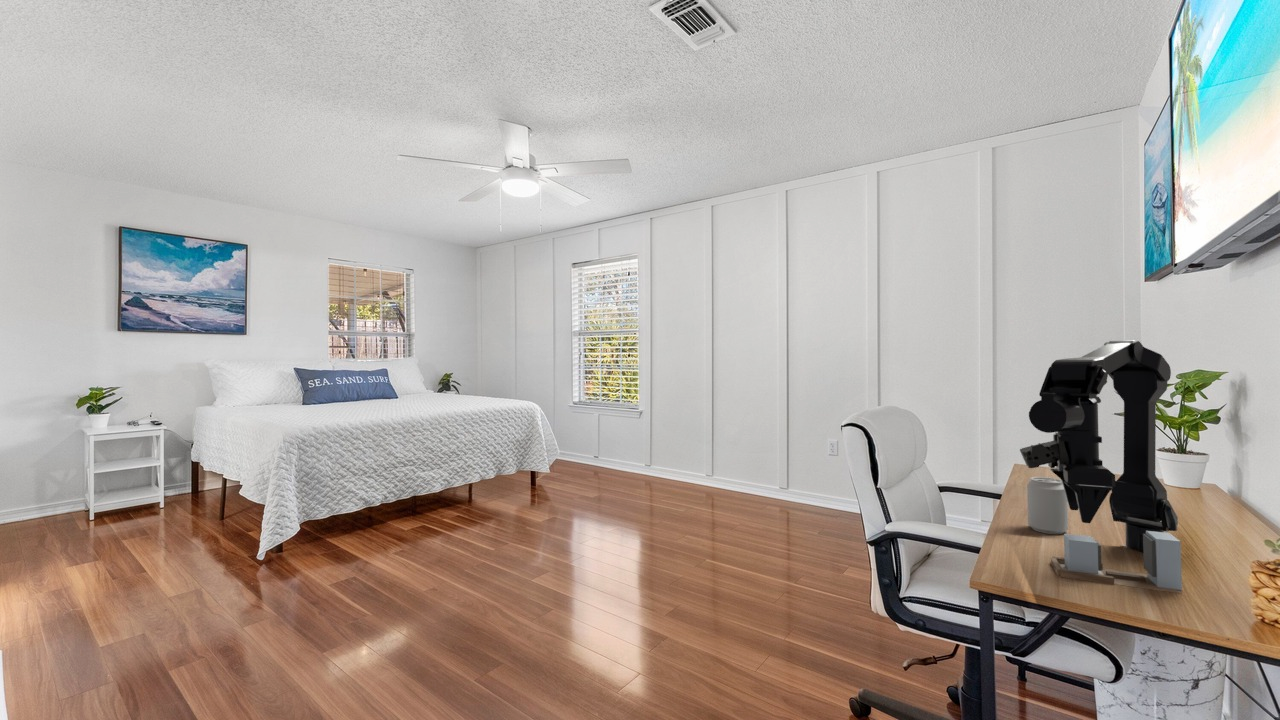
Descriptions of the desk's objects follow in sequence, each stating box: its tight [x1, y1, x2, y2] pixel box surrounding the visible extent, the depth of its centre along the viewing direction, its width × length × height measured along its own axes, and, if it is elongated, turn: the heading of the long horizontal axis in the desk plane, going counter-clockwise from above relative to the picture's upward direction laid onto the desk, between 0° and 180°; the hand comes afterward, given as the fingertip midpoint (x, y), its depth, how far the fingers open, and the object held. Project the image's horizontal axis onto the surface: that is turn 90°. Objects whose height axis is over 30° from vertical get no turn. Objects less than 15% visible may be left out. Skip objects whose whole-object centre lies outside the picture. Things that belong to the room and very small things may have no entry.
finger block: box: [1063, 533, 1102, 575], centre depth 97 cm, size 4×4×6 cm
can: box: [1026, 476, 1069, 535], centre depth 126 cm, size 8×8×12 cm
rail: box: [1049, 556, 1182, 594], centre depth 95 cm, size 8×16×2 cm, turn 61°
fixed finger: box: [1142, 531, 1183, 591], centre depth 92 cm, size 5×4×8 cm
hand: (1079, 516), depth 97 cm, fingers open, 9 cm apart
